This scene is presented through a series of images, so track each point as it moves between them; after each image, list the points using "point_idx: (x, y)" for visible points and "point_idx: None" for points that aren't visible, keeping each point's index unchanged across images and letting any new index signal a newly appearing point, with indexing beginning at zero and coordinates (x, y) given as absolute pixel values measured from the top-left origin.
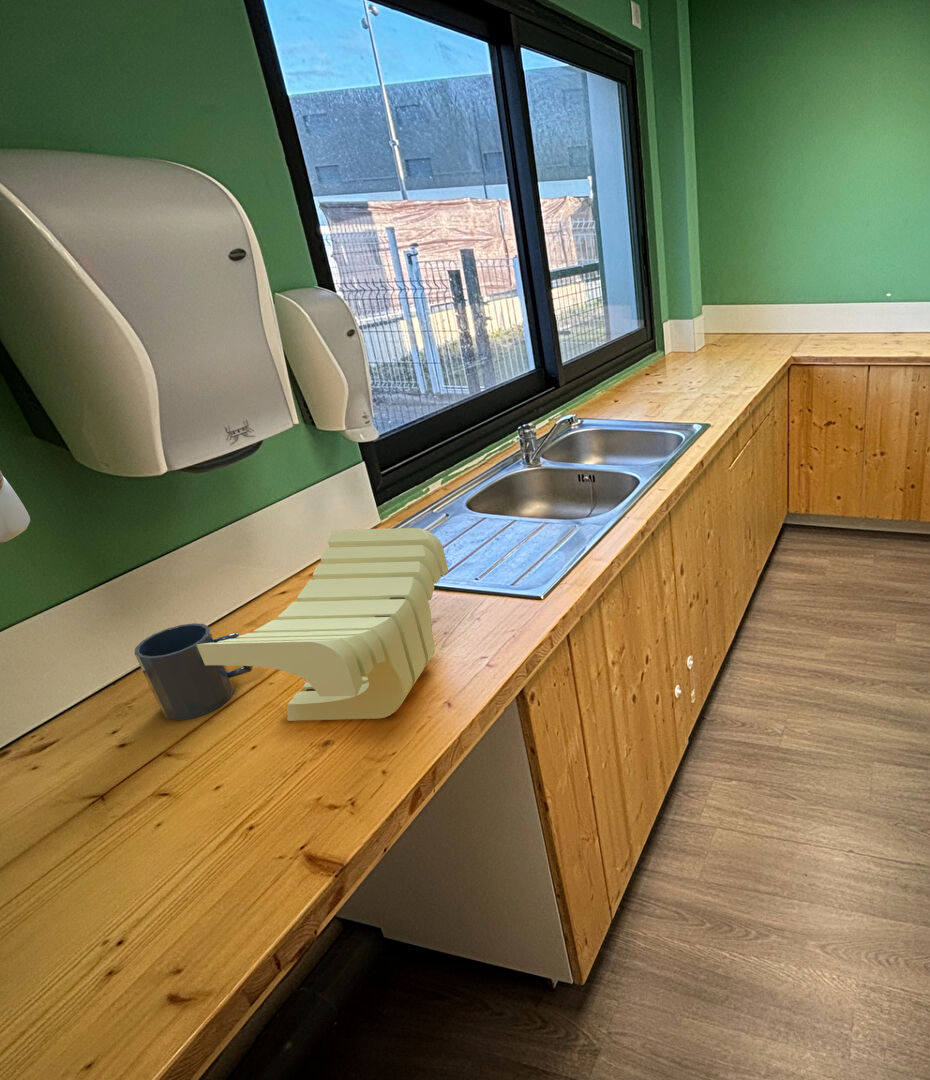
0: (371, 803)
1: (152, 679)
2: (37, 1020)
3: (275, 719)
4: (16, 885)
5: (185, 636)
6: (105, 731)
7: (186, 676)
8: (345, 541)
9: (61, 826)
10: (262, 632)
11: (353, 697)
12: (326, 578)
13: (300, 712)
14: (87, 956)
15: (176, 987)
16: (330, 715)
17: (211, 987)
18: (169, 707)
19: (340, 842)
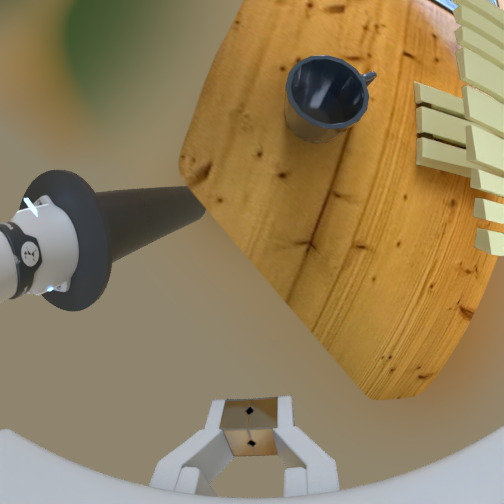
0: (483, 270)
1: (312, 132)
2: (370, 387)
3: (405, 159)
4: (306, 322)
5: (313, 65)
6: (249, 152)
7: (346, 129)
8: (477, 6)
9: (299, 273)
10: (482, 162)
11: (471, 168)
12: (471, 48)
13: (428, 162)
14: (377, 364)
15: (420, 373)
16: (448, 169)
17: (432, 372)
18: (313, 140)
19: (473, 299)
